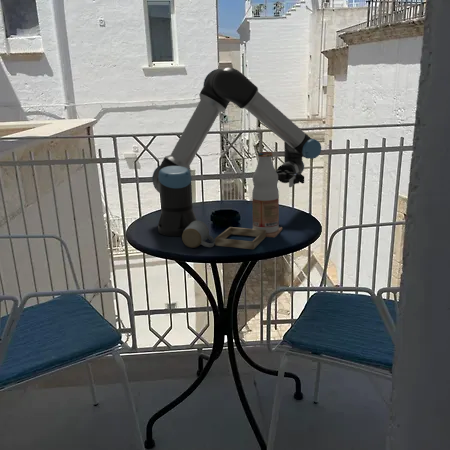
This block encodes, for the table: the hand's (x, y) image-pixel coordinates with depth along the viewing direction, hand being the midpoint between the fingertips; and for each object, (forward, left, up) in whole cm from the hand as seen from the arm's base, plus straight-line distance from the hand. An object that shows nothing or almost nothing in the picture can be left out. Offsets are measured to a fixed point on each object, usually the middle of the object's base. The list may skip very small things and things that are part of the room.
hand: (271, 182), depth 167 cm
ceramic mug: (-18, -26, -17) cm, 36 cm away
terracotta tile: (-1, -6, -17) cm, 18 cm away
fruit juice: (0, -6, -16) cm, 18 cm away
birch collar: (-6, -18, -17) cm, 26 cm away
